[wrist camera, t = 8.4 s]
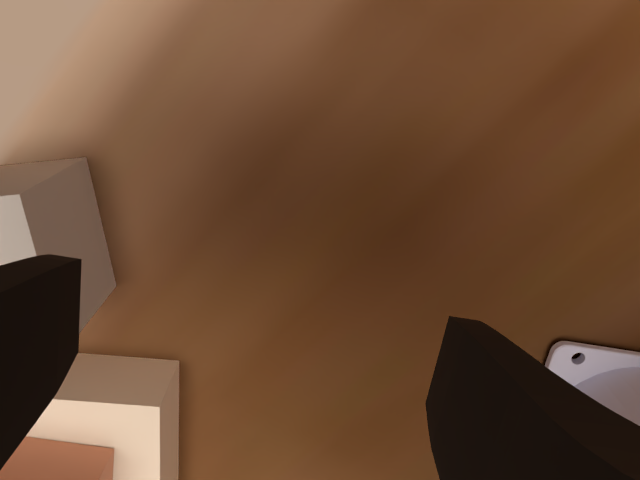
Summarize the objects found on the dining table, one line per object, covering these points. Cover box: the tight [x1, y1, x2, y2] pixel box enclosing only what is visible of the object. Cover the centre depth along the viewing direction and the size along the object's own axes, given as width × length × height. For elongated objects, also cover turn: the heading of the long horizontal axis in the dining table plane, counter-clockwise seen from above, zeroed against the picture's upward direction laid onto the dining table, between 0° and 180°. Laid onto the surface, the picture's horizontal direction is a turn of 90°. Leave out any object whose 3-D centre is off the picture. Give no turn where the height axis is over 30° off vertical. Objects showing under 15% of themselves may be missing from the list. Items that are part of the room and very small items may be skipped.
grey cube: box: [0, 157, 116, 333], centre depth 20 cm, size 5×5×5 cm
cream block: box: [26, 353, 179, 480], centre depth 24 cm, size 8×8×4 cm
